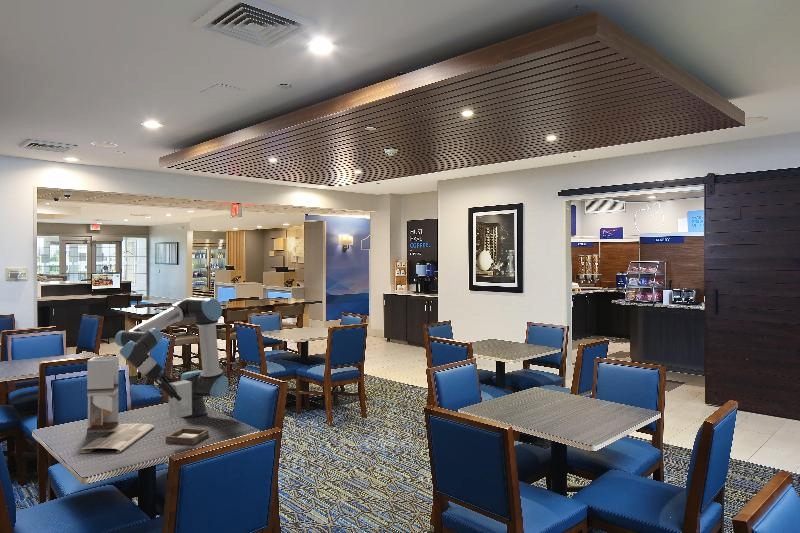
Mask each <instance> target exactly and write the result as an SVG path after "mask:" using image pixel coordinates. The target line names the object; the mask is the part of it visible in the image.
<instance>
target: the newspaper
mask: <svg viewBox="0 0 800 533" xmlns="http://www.w3.org/2000/svg"><path fill="white" fill-rule="evenodd" d="M154 428H155V425H154V424H151V423H139V422H137V423H121V424H118V426H117V427H115V428H113V429H112V430H110V431H109V432H104V434H102V435H101V436H99V437H97V438H96V439H94V440H93V441H92V442H91V441H90V443H88V444H86V445H85V446H83V447H82V448H80V449H79V450H78V453H80V454H82V453H83V454H84V453H85V454H86V453H88V454H89V453H92V452H93V451H95V450H96V449H115V450H116V453H117V454H118V453H119V454H121V453H122V452H124V450H126V449H127V448H128V447H129V446H131V445H133V444H134V443H135V442H137V441H138V440H140V439H141V438H142V437H143V436H145V435H146V434H147V433H149V432H150V431H152V430H153V429H154Z"/></svg>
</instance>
